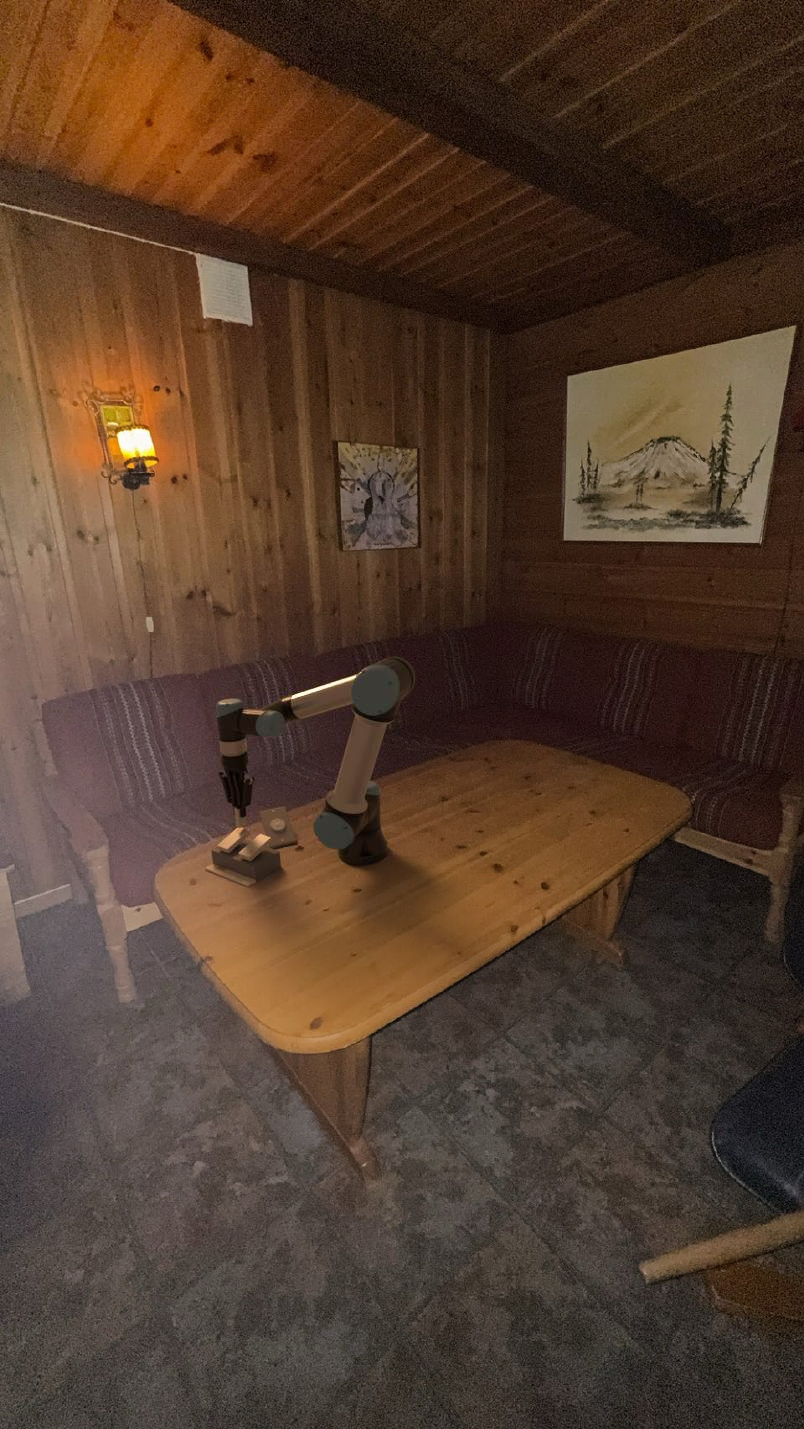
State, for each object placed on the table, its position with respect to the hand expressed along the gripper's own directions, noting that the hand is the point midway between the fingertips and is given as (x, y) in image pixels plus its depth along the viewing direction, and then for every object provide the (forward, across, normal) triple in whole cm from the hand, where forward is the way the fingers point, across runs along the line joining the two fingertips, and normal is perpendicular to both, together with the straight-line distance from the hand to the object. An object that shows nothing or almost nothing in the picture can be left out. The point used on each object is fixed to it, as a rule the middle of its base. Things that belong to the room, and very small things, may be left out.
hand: (241, 825), depth 187 cm
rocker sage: (+3, -9, +4) cm, 10 cm away
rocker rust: (+3, 0, +3) cm, 5 cm away
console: (+10, -5, +5) cm, 12 cm away
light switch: (+11, 0, -14) cm, 18 cm away
